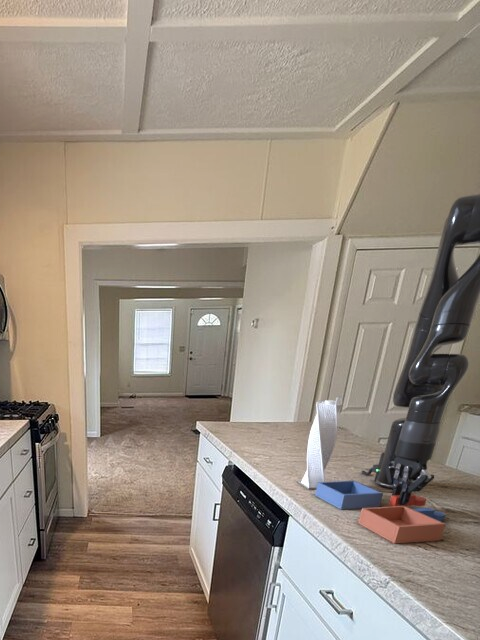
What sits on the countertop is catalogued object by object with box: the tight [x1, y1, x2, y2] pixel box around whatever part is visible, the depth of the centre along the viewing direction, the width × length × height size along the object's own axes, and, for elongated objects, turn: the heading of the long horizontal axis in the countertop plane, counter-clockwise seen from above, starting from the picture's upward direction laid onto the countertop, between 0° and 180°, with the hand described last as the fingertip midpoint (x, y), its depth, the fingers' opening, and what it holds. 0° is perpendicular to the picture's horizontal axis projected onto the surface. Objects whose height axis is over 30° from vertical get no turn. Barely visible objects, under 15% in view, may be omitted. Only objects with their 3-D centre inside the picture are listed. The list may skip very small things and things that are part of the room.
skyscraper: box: [298, 395, 343, 490], centre depth 122 cm, size 8×8×28 cm
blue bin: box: [314, 480, 384, 510], centre depth 114 cm, size 11×11×4 cm
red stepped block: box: [388, 493, 427, 507], centre depth 107 cm, size 9×4×3 cm, turn 96°
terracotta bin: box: [357, 506, 447, 544], centre depth 95 cm, size 11×11×4 cm
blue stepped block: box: [412, 507, 446, 522], centre depth 101 cm, size 9×4×3 cm, turn 97°
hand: (398, 502), depth 107 cm, fingers closed on red stepped block
